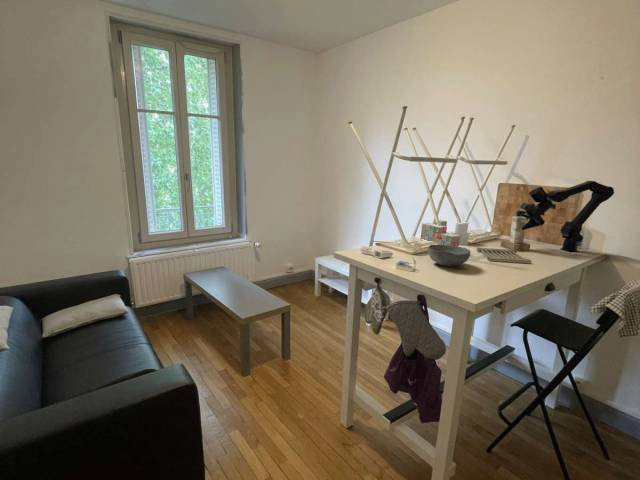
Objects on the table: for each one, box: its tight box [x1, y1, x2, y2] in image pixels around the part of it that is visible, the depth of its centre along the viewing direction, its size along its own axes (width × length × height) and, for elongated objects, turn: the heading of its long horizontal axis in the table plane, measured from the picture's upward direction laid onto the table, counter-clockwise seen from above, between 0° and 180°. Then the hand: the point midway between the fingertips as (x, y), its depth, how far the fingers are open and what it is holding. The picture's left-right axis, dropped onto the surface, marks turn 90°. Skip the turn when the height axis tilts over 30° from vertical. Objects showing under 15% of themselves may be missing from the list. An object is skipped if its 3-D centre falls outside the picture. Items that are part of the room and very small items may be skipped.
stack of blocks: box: [420, 222, 460, 247], centre depth 180 cm, size 21×6×12 cm, turn 27°
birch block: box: [509, 215, 527, 243], centre depth 186 cm, size 5×5×14 cm
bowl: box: [427, 245, 471, 267], centre depth 152 cm, size 18×18×8 cm
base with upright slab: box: [451, 221, 470, 246], centre depth 195 cm, size 9×9×12 cm
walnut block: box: [500, 239, 531, 252], centre depth 188 cm, size 10×10×4 cm
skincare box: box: [433, 219, 448, 227], centre depth 199 cm, size 6×4×12 cm
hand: (517, 227), depth 185 cm, fingers open, 9 cm apart
